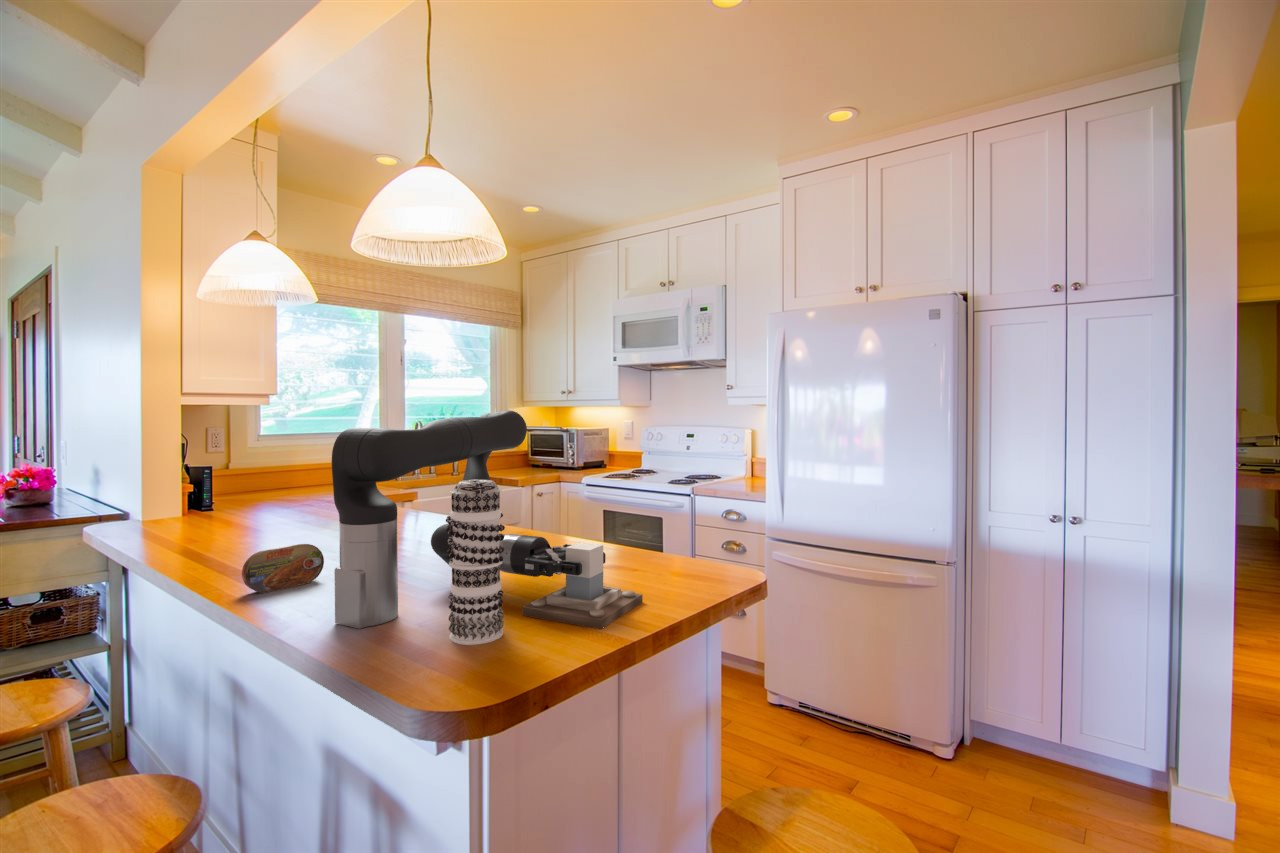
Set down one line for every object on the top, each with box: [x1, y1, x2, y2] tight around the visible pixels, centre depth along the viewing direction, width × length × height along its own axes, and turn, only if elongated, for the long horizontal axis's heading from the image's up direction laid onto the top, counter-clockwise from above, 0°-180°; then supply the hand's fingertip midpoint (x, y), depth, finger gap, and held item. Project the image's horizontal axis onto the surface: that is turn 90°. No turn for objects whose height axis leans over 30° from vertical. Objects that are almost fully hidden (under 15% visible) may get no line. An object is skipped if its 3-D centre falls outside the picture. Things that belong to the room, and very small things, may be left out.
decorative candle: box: [445, 479, 506, 646], centre depth 97 cm, size 9×9×25 cm
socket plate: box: [522, 585, 643, 630], centre depth 111 cm, size 16×16×3 cm
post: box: [565, 541, 604, 601], centre depth 111 cm, size 5×5×10 cm
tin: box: [241, 543, 325, 594], centre depth 125 cm, size 15×3×8 cm, turn 143°
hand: (593, 563), depth 110 cm, fingers open, 8 cm apart
